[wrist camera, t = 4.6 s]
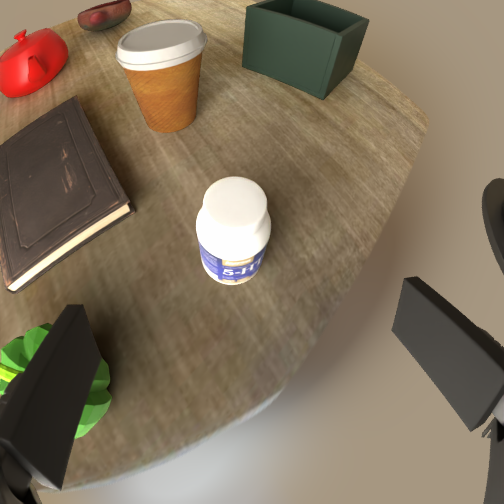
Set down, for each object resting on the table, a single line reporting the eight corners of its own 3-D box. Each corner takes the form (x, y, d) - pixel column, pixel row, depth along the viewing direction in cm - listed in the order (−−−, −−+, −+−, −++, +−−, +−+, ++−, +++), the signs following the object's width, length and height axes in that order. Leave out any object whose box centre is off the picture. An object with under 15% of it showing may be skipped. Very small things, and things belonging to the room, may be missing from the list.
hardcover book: (81, 106, 34) (76, 94, 32) (135, 212, 27) (129, 199, 25) (-5, 164, 29) (-12, 155, 27) (15, 295, 22) (2, 289, 20)
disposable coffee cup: (120, 122, 32) (97, 44, 21) (176, 87, 36) (168, 13, 25) (165, 155, 30) (147, 63, 19) (225, 113, 34) (227, 28, 23)
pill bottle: (225, 297, 25) (223, 257, 16) (190, 251, 26) (175, 194, 18) (274, 263, 26) (295, 210, 18) (238, 220, 28) (243, 156, 19)
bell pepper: (144, 372, 21) (92, 368, 12) (103, 446, 18) (40, 474, 9) (73, 318, 23) (5, 283, 13) (36, 387, 19) (-38, 380, 10)
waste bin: (352, 69, 41) (369, 19, 31) (323, 100, 36) (342, 36, 26) (284, 41, 44) (292, -7, 34) (241, 66, 38) (246, 6, 29)
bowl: (76, 35, 46) (69, 9, 38) (122, 14, 50) (118, -11, 42) (95, 47, 42) (87, 16, 34) (149, 24, 46) (146, -6, 38)
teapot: (3, 85, 38) (-15, 46, 27) (59, 48, 43) (47, 7, 32) (13, 129, 32) (-17, 76, 21) (90, 77, 37) (73, 19, 26)
